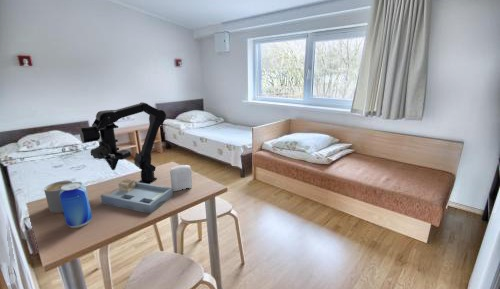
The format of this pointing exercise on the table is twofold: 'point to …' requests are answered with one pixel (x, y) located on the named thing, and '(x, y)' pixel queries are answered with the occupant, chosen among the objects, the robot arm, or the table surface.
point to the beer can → (75, 204)
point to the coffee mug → (54, 196)
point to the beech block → (127, 185)
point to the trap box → (139, 197)
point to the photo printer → (181, 177)
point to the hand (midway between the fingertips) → (113, 169)
